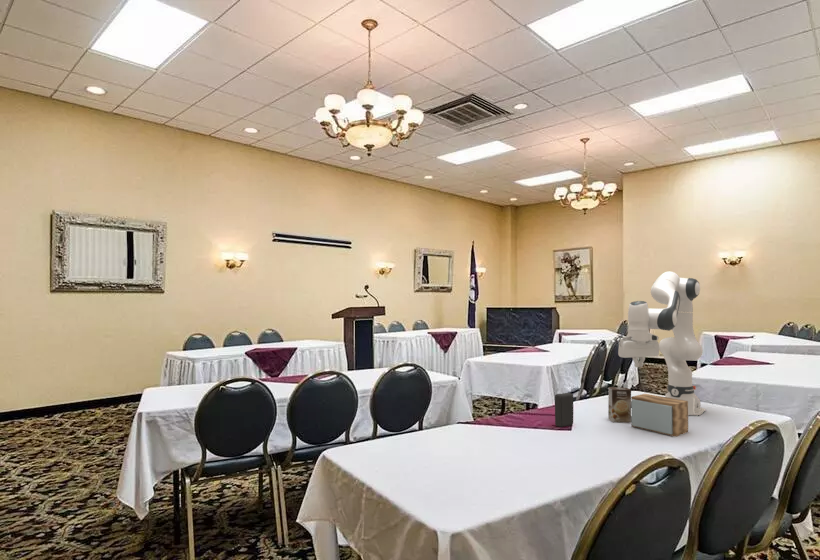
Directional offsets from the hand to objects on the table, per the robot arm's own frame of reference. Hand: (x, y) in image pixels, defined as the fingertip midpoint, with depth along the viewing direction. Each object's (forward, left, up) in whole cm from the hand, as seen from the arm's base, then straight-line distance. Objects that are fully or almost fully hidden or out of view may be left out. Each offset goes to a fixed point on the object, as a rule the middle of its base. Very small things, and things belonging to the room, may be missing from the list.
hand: (638, 366), depth 224 cm
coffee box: (-9, -15, -29) cm, 34 cm away
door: (-3, +4, -28) cm, 28 cm away
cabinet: (-10, +4, -29) cm, 31 cm away
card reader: (+20, -26, -29) cm, 44 cm away
